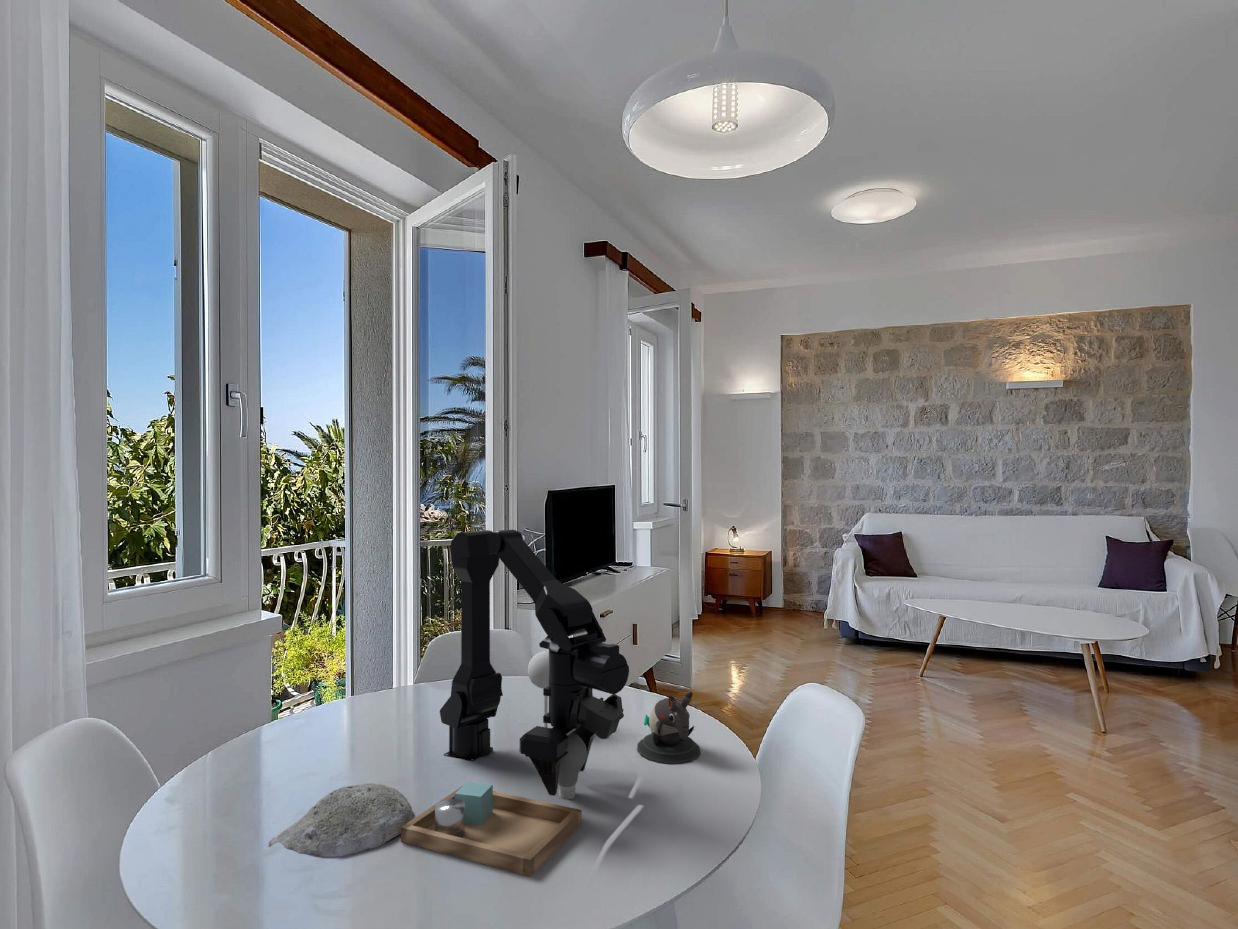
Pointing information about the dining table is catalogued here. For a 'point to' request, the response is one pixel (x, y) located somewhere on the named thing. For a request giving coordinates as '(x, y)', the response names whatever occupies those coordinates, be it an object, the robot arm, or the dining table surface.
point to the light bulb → (571, 766)
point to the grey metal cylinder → (450, 817)
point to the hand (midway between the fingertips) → (567, 782)
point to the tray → (501, 833)
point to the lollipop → (540, 674)
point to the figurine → (669, 733)
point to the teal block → (476, 801)
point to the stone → (348, 821)
